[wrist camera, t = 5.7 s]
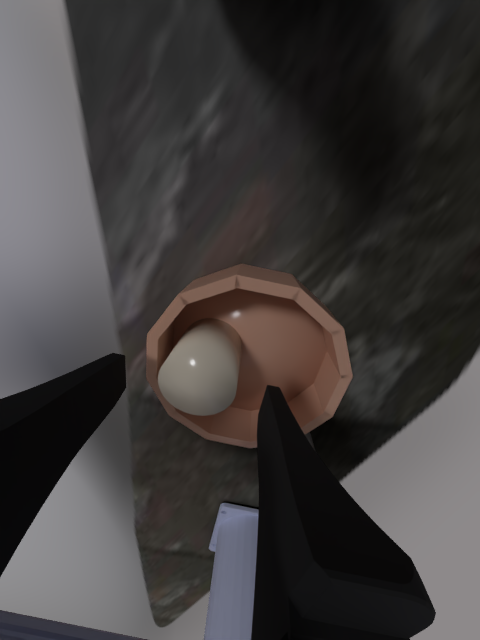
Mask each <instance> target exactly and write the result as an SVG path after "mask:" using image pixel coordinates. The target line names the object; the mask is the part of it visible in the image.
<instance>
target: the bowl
mask: <svg viewBox="0 0 480 640" xmlns="http://www.w3.org/2000/svg"><path fill="white" fill-rule="evenodd" d="M205 318H214V319H219V320H222V321H224V322H226V323H228V324H230V325H231V326H232V327H233V328H234V329H235V330H236V331H237V332H238V334H239V336H240V338H241V341H242V353H241V361H240V368H239V376H238V383H237V390H236V396H235V398H234V400H233V402H232V403H231V405H230V406H229V407H228V408H226V409H225V410H223V411H221V412H219V413H217V414H213V415H207V416H199V415H192V414H188V413H186V412H183V411H181V410H179V409H177V408H175V407H174V406H173V405H171V404H170V403H169V402H168V401H167V400H166V399H165V397H164V396H163V395H162V393H161V391H160V388H159V385H158V374H159V371H160V369H161V367H162V365H163V364H164V362H165V361H166V359H167V358H168V356H169V355H170V353H171V352H172V350H173V349H174V347H175V346H176V344H177V343H178V341H179V340H180V338H181V337H182V336H183V334H184V333H185V331H186V330H187V328H188V327H189V326H190V325H191V324H192V323H194V322H196V321H198V320H201V319H205ZM352 377H353V375H352V370H351V364H350V359H349V353H348V348H347V343H346V337H345V332H344V328H343V327H342V326H341V324H340V323H339V322H338V321H337V319H336V318H335V317H334V316H333V314H332V313H331V312H330V311H329V309H328V308H327V307H326V306H325V305H324V304H323V303H322V302H321V301H320V300H319V299H318V298H317V297H316V296H314V295H313V294H312V293H311V292H310V291H309V290H308V289H307V288H306V287H305V286H304V285H303V284H302V283H301V282H300V281H299V280H298V279H296V278H295V277H294V276H293V275H292V274H289V273H284V272H279V271H274V270H269V269H265V268H260V267H255V266H250V265H245V264H239V265H236V266H233V267H230V268H227V269H224V270H221V271H218V272H215V273H212V274H210V275H207V276H204V277H201V278H198V279H195V280H194V281H193V282H191V283H190V284H189V285H188V286H187V287H186V288H185V289H183V290H182V291H181V292H180V293H179V294H178V295H177V296H176V298H175V299H174V300H173V302H172V303H171V304H170V305H169V307H168V308H167V309H166V311H165V312H164V313H163V314H162V316H161V317H160V318H159V320H158V321H157V322H156V323H155V325H154V326H153V327H152V329H151V330H150V331H149V333H148V334H147V370H146V379H147V380H148V382H149V384H150V385H151V387H152V389H153V390H154V392H155V393H156V395H157V397H158V398H159V400H160V402H161V403H162V405H163V406H164V408H165V410H166V411H167V413H168V415H169V416H171V417H172V418H174V419H175V420H177V421H179V422H180V423H182V424H183V425H185V426H186V427H188V428H189V429H191V430H192V431H194V432H196V433H197V434H199V435H200V436H202V437H203V438H205V439H207V440H212V441H217V442H222V443H227V444H231V445H236V446H241V447H246V448H256V447H257V423H258V413H259V410H260V406H261V403H262V400H263V397H264V393H265V390H266V387H267V385H271V386H276V387H279V388H280V389H281V391H282V393H283V395H284V397H285V399H286V402H287V404H288V405H289V407H290V409H291V411H292V413H293V415H294V417H295V419H296V420H297V422H298V424H299V426H300V428H301V429H302V431H303V433H304V434H307V433H308V432H310V431H311V430H313V429H315V428H316V427H318V426H319V425H321V424H322V423H324V422H325V421H327V420H329V419H330V418H332V417H333V415H334V413H335V411H336V409H337V407H338V405H339V403H340V401H341V399H342V397H343V395H344V393H345V391H346V389H347V387H348V385H349V383H350V381H351V379H352Z"/></svg>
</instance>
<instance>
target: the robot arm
mask: <svg viewBox="0 0 480 640" xmlns="http://www.w3.org/2000/svg"><path fill="white" fill-rule="evenodd" d="M125 388H126V370H125V355H121V354H115V353H112V354H109V355H107V356H105V357H102V358H100V359H98V360H96V361H93V362H91V363H89V364H87V365H85V366H83V367H80V368H78V369H76V370H74V371H72V372H69V373H67V374H65V375H62V376H60V377H58V378H55V379H53V380H50V381H48V382H46V383H43V384H41V385H38V386H36V387H33V388H31V389H28V390H25V391H22V392H20V393H17V394H14V395H11V396H8V397H5V398H3V399H0V577H1V575H2V573H3V571H4V570H5V568H6V566H7V564H8V563H9V561H10V559H11V557H12V556H13V554H14V552H15V550H16V549H17V547H18V545H19V543H20V542H21V540H22V538H23V537H24V535H25V533H26V531H27V530H28V528H29V527H30V525H31V523H32V522H33V520H34V519H35V517H36V515H37V513H38V512H39V510H40V509H41V507H42V505H43V504H44V502H45V501H46V499H47V498H48V496H49V495H50V493H51V491H52V490H53V488H54V487H55V485H56V484H57V482H58V481H59V479H60V478H61V476H62V475H63V473H64V472H65V470H66V469H67V467H68V466H69V464H70V462H71V461H72V460H73V458H74V457H75V456H76V454H77V453H78V451H79V450H80V449H81V448H82V446H83V445H84V444H85V443H86V441H87V440H88V439H89V438H90V436H91V435H92V434H93V433H94V431H95V430H96V429H97V428H98V426H99V425H100V424H101V423H102V421H103V420H104V419H105V418H106V416H107V415H108V414H109V412H110V411H111V410H112V409H113V407H114V406H115V404H116V403H117V401H118V400H119V398H120V397H121V395H122V393H123V392H124V390H125ZM257 453H258V475H259V509H254V508H249V507H244V506H239V505H234V504H229V503H222V504H221V505H220V508H219V512H218V516H217V519H216V523H215V527H214V530H213V534H212V537H211V541H210V545H209V549H210V550H211V551H215V559H214V567H213V574H212V582H211V589H210V597H209V604H208V612H207V619H206V627H205V634H204V640H410V639H409V638H410V637H412V636H414V635H416V634H417V633H419V632H420V631H422V630H424V629H426V628H427V627H428V626H430V625H431V624H432V623H433V620H434V618H435V614H436V612H435V610H434V607H433V605H432V603H431V600H430V598H429V596H428V594H427V591H426V589H425V587H424V584H423V582H422V580H421V578H420V576H419V574H418V572H417V570H416V568H415V566H414V564H413V562H412V560H411V558H410V557H409V556H408V555H407V554H406V553H405V552H404V551H403V550H402V549H401V548H400V547H399V546H398V545H397V544H396V543H395V542H394V541H393V540H392V539H391V538H390V537H389V536H388V535H387V534H386V533H385V532H384V531H383V530H381V528H379V526H378V525H377V524H376V523H375V522H374V521H373V520H372V519H371V518H370V517H369V516H368V515H367V514H366V513H365V512H364V510H363V509H362V508H361V507H360V506H359V505H358V504H357V503H356V502H355V501H354V499H353V498H352V497H351V496H350V495H349V494H348V493H347V491H346V490H345V489H344V488H343V487H342V485H341V484H340V483H339V482H338V481H337V479H336V478H335V477H334V476H333V474H332V473H331V472H330V471H329V469H328V468H327V467H326V465H325V464H324V463H323V461H322V460H321V458H320V457H319V456H318V454H317V453H316V451H315V450H314V448H313V447H312V445H311V444H310V442H309V441H308V439H307V437H306V436H305V434H304V433H303V431H302V429H301V428H300V426H299V424H298V422H297V420H296V419H295V417H294V415H293V413H292V411H291V409H290V407H289V405H288V404H287V402H286V399H285V397H284V395H283V393H282V391H281V389H280V388H279V387H276V386H271V385H267V387H266V390H265V393H264V397H263V400H262V403H261V406H260V410H259V413H258V423H257ZM0 640H147V639H142V638H137V637H132V636H127V635H122V634H116V633H112V632H107V631H101V630H97V629H92V628H86V627H82V626H77V625H72V624H67V623H62V622H57V621H52V620H47V619H42V618H37V617H32V616H27V615H21V614H16V613H12V612H7V611H2V610H0Z"/></svg>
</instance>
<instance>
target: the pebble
mask: <svg viewBox="0 0 480 640" xmlns="http://www.w3.org/2000/svg"><path fill="white" fill-rule="evenodd" d="M241 353H242V341H241V338H240V336H239V334H238V332H237V331H236V330H235V329H234V328H233V327H232V326H231V325H230V324H228V323H226V322H224V321H222V320H219V319H214V318H205V319H201V320H198V321H196V322H194V323H192V324H191V325H190V326H189V327H188V328H187V330H186V331H185V333H184V334H183V336H182V337H181V338H180V340H179V341H178V343H177V344H176V346H175V347H174V349H173V350H172V352H171V353H170V355H169V356H168V358H167V359H166V361H165V362H164V364H163V365H162V367H161V369H160V371H159V374H158V385H159V388H160V391H161V393H162V395H163V396H164V397H165V399H166V400H167V401H168V402H169V403H170V404H171V405H173V406H174V407H175V408H177V409H179V410H181V411H183V412H186V413H188V414H192V415H199V416H207V415H213V414H217V413H219V412H221V411H223V410H225V409H226V408H228V407H229V406H230V405H231V403H232V402H233V400H234V398H235V396H236V390H237V383H238V376H239V368H240V361H241Z"/></svg>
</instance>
